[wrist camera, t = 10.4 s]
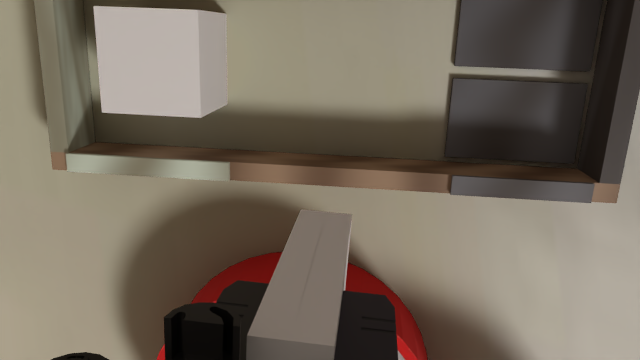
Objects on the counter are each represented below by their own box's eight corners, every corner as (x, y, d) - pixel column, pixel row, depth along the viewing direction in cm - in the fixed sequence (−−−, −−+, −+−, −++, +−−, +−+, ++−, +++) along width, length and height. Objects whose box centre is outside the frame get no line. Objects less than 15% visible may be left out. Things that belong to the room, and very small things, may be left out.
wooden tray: (636, -44, 31) (671, -55, 27) (592, 186, 35) (618, 204, 31) (60, -58, 34) (23, -69, 30) (80, 157, 38) (49, 170, 34)
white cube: (144, 100, 36) (101, 112, 30) (139, 10, 35) (92, 5, 29) (228, 104, 36) (200, 118, 30) (227, 13, 34) (197, 9, 28)
